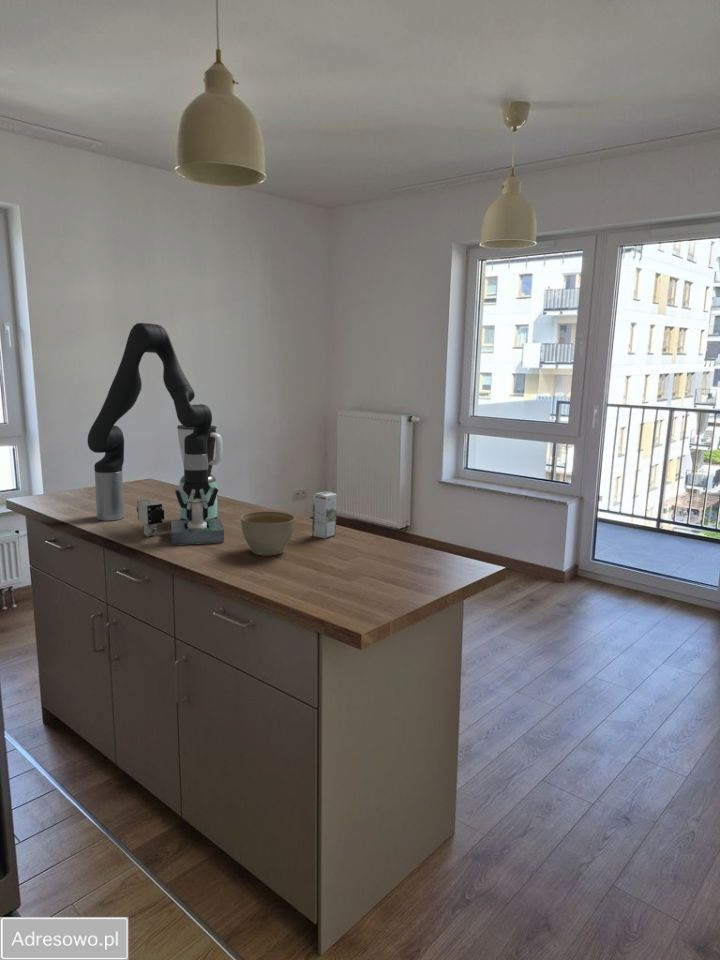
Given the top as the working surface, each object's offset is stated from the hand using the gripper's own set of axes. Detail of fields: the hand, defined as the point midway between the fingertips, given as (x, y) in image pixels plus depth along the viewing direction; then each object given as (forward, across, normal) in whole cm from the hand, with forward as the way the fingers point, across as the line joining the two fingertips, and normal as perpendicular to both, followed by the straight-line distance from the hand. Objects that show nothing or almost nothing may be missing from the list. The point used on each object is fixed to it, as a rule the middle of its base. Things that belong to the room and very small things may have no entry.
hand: (197, 519), depth 208 cm
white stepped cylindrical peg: (+5, 0, 0) cm, 5 cm away
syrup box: (+6, -40, +11) cm, 42 cm away
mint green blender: (+6, -4, -20) cm, 22 cm away
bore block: (+6, 0, 0) cm, 6 cm away
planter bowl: (+6, -17, +23) cm, 30 cm away
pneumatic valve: (+6, +13, -7) cm, 16 cm away
